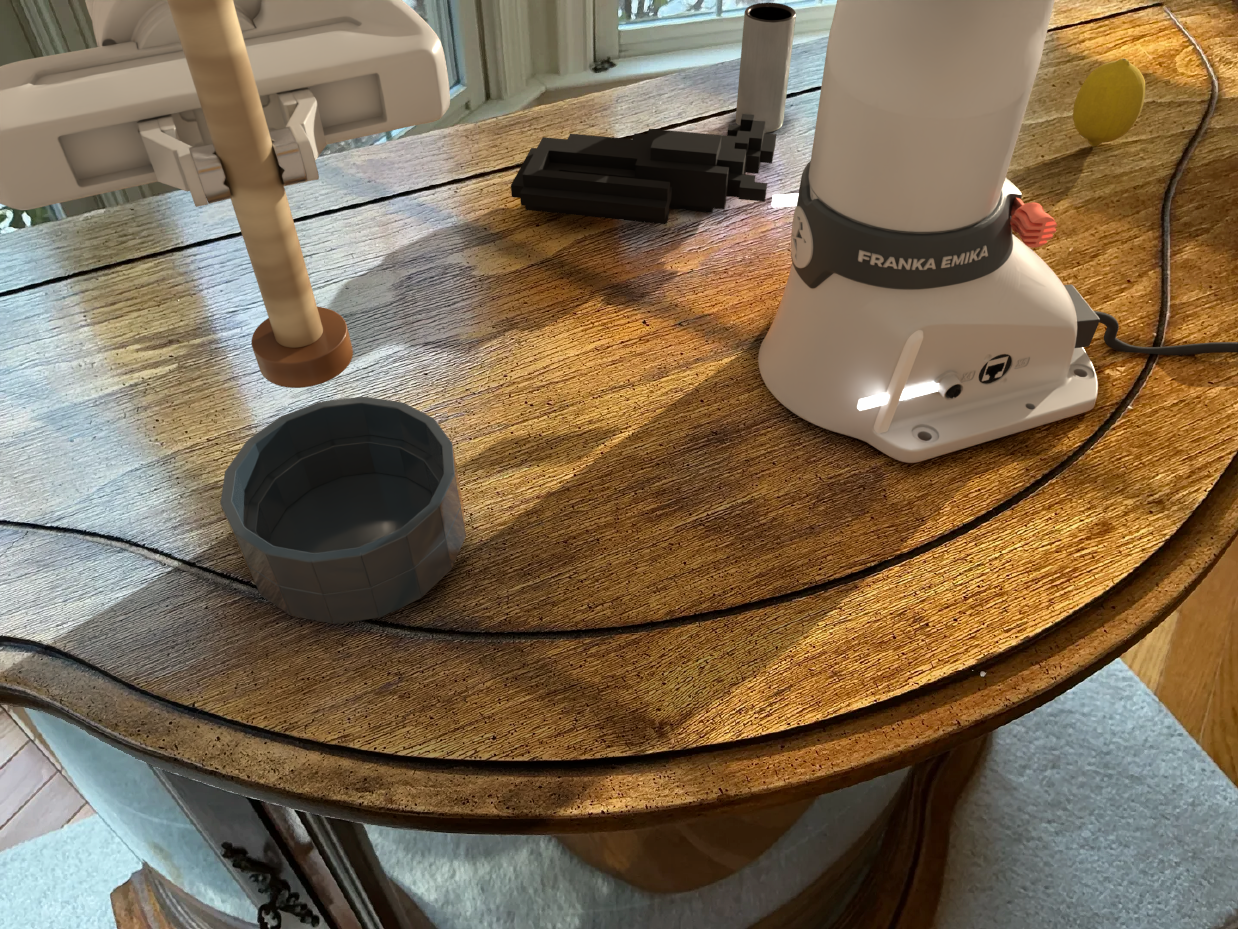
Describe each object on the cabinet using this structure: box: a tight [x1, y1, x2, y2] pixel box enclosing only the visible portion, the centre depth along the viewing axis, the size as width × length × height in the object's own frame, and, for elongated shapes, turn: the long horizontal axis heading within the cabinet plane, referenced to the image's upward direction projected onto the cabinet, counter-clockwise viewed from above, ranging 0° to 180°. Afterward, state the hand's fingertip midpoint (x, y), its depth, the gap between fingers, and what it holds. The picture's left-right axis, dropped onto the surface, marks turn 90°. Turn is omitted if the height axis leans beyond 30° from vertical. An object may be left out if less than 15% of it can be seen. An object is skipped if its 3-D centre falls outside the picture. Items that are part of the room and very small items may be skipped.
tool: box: [510, 114, 778, 226], centre depth 83 cm, size 5×20×15 cm
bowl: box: [220, 396, 467, 625], centre depth 55 cm, size 12×12×6 cm
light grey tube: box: [735, 1, 797, 133], centre depth 91 cm, size 4×4×10 cm
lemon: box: [1072, 57, 1146, 147], centre depth 88 cm, size 6×6×8 cm
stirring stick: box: [167, 0, 354, 389], centre depth 41 cm, size 4×4×18 cm
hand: (255, 176), depth 40 cm, fingers closed on stirring stick, 2 cm apart
